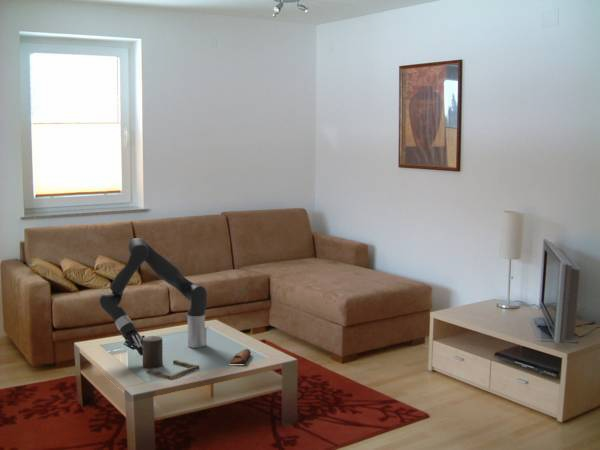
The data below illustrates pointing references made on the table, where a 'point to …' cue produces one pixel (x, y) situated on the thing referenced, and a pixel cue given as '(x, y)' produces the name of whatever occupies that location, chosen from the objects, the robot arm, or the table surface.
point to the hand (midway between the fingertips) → (143, 354)
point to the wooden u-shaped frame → (191, 368)
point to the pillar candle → (152, 352)
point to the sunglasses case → (241, 357)
